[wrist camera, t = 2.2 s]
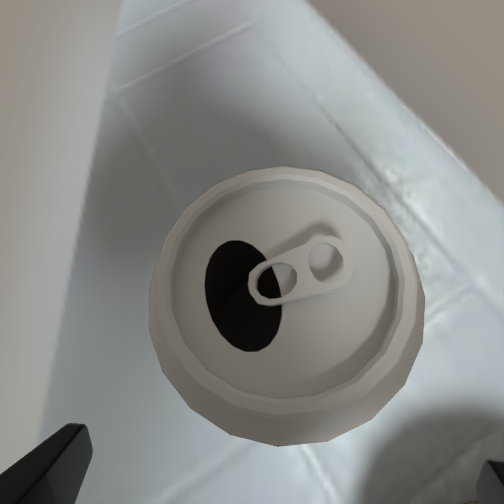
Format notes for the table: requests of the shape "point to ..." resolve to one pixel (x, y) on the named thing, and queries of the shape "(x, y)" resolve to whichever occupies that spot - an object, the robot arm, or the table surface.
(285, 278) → the can
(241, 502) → the table surface
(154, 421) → the table surface
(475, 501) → the brown wooden disc
